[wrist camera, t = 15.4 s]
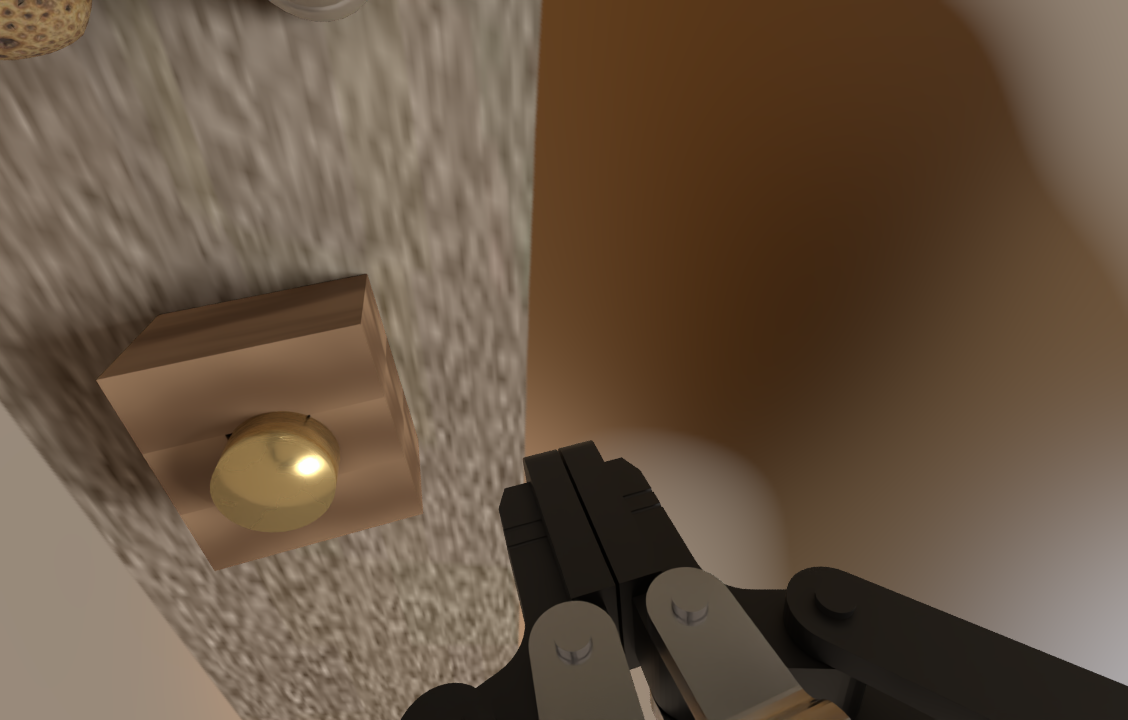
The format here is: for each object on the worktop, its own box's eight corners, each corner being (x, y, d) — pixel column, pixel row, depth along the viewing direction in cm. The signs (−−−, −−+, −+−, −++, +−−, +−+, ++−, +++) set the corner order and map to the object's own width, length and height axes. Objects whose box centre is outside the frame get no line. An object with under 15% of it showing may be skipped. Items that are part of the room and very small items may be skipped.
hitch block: (158, 314, 33) (95, 380, 26) (367, 273, 35) (360, 324, 28) (246, 482, 39) (214, 570, 32) (418, 439, 41) (422, 513, 34)
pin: (239, 364, 34) (188, 459, 26) (333, 343, 35) (314, 429, 27) (273, 436, 37) (237, 544, 28) (359, 416, 38) (349, 514, 29)
